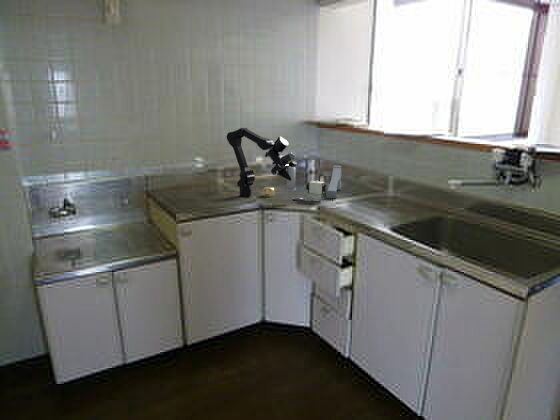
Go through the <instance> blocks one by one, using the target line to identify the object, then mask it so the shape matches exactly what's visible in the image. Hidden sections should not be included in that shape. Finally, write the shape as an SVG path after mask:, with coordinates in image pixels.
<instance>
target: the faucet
mask: <svg viewBox="0 0 560 420" xmlns="http://www.w3.org/2000/svg"><path fill="white" fill-rule="evenodd" d="M342 177H343V175H342V166H341V165H333V167H332V174H331V178H330V179H331V180H330V182H329V185H328V191H327V192H326V193H325V196H326V198H327V199H337V197H338V196H337V195H338V194H337V193H338V191H341V190H342V181H341V180H342Z"/></svg>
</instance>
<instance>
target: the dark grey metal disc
mask: <svg viewBox="0 0 560 420" xmlns="http://www.w3.org/2000/svg"><path fill="white" fill-rule="evenodd" d="M305 199H306V198H305V197H304V196H296V197H295V196H294V197H293V201H296V202H302V201H305Z"/></svg>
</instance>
